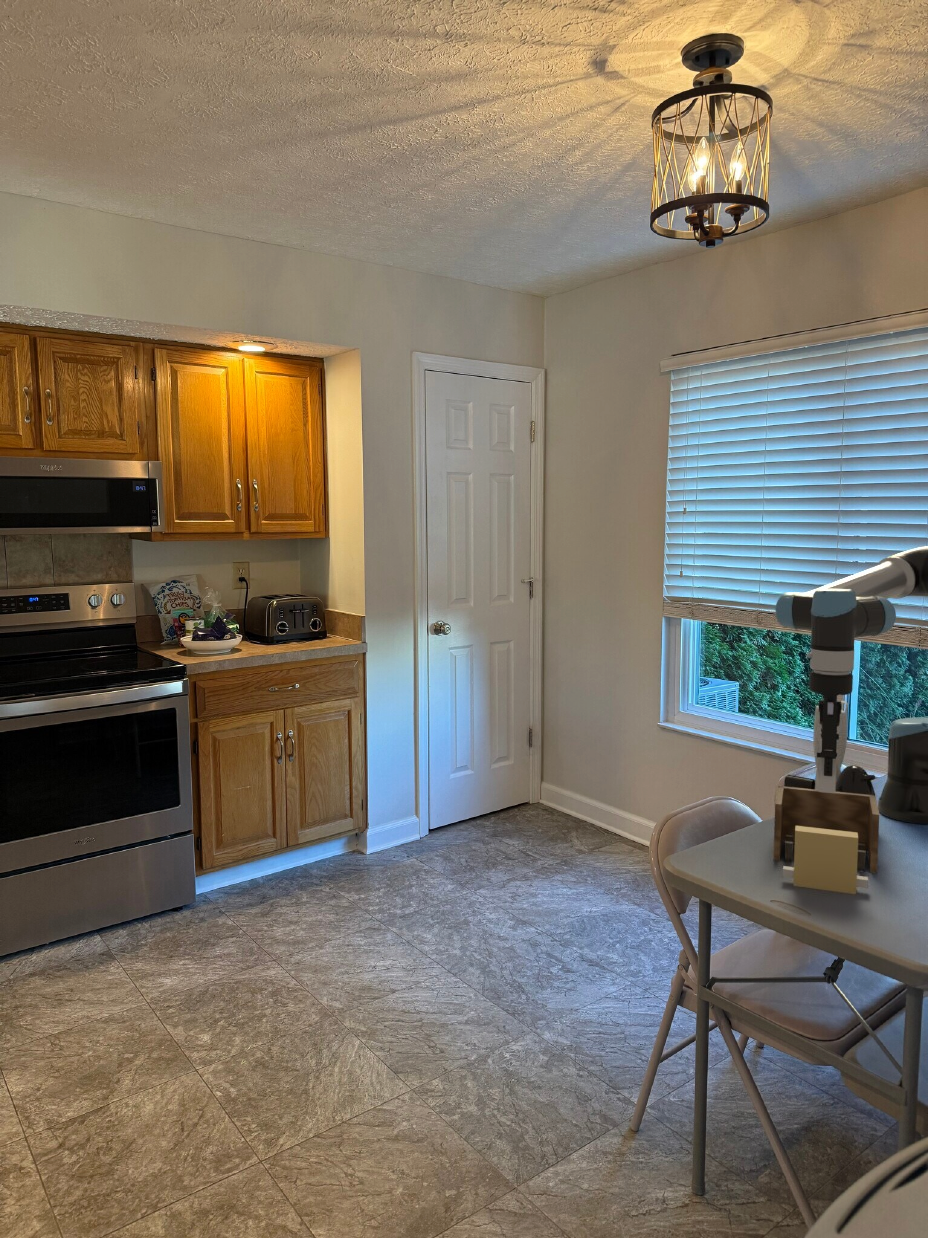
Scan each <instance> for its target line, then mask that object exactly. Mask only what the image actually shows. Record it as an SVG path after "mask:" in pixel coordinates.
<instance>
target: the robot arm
mask: <svg viewBox="0 0 928 1238" xmlns="http://www.w3.org/2000/svg"><path fill="white" fill-rule="evenodd" d="M905 597H928V545H925V546H919V547H916V548H911V549H908V550H905V551H901V552H899V553H895V554H893V555H889V556H887V557H885V558H883V559H881V560H879V561H878V562H877V564H876V565H875V566H872V567H870V568H868V569H865V570H863V571H860V572H857V573H855V574H853V575H848V576H847V577H844V578H842V579H838V580H836V581H833V582H832V583H831V582H830V583H827V584H825V585H822V586H820V587H817V588H815V589H811V590H808V591H806V592H799V591H794V592H793V591H792V592H783V594H781V595H780V596H779V598H778V599H777V601H776V604H775V609H774V610H775V618H776V620H777V622H778V624H779V626H782V627H783V628H787V629H794V630H796V631H798V630H802V631H811V632H810V633H811V634H810V637H811V639H810V652H807V653H806V657H807V658H809V659H810V661H809V668H810V669H811V671H810V672H809V679H808V680H809V682H808V689H809V691H810V692H812V693H814V694H817V695H818V694H822V699H818V706H819V713H820V725H822V728H821V732H822V733H821V737H822V739H821V744H820V753H818V752H817V757H820V771H819V772H820V781H819V792H825V793H835V786H836V761H837V758H836V757H837V753H836V749H837V740H839V734H837V726H839V724H840V714H841V710H842V704H843V703H841V701H842V700H841V701H839V700H838V696H839V695H840V696H847V695H850V694H851V693H852V692H853V686H854V684H853V683H854V675H853V674H852V672H853V671H854V670H855V668H854V667H855V640H856V639H855V638H859V637H875V636H879V635H881V634H885V633H887V632H889V631H890V630H891V629H892V628H893V626H894V625H895V623H896V619H897V613H896V612H897V611H896V609H895V607H894V605H893V603H892V602H891V601H890V600H889V599H894V600H895V599H896V600H897V599H902V598H905ZM887 739H888V749H887V752H888V753H887V773H886V774H887V776H886V782H885V784H884V786H883V788H882V791H881V795H880V797H879V798H878V801H877V806H878V811H879V814H881V815H883V816H885V817H887V818H891V819H893V820H896V821H900V822H906V823H909V824H910V823H911V824H921V825H928V716H927V717H926V716H925V717H924V716H923V717H906V718H899V719H895V720H893V721H892V722H891V723H890V725H889V732H888V737H887Z"/></svg>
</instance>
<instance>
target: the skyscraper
mask: <svg viewBox="0 0 928 1238" xmlns="http://www.w3.org/2000/svg"><path fill="white" fill-rule="evenodd" d="M841 704H845V711H844V710H843V709H841V714H840V724H839V726H837V734H839V740H837V749H836V753H837V757H836V758H837V761H836V781H837V779H838V777H839V775H840V773H841V772H842V766H843V763H844V759H845V754H846V749H847V743H848V708H849V703H848V702H846V701H845V700H841ZM813 720H814V721H813V722H814V723H813V736H812V737H813V739H812V740H813V755H814V762H815V768H816V771H815V777H814V780H815V790H819V781H820V772H819V771H820V757H817V752H818V753H820V744H821V739H822V737H821V733H822V732H821V728H822V725H820V713H819V705H816V707H815V711H814V719H813Z"/></svg>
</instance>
